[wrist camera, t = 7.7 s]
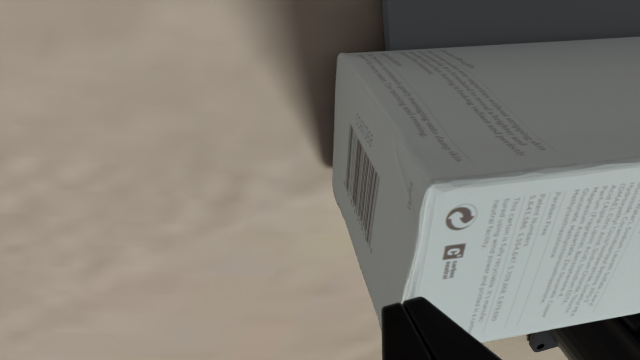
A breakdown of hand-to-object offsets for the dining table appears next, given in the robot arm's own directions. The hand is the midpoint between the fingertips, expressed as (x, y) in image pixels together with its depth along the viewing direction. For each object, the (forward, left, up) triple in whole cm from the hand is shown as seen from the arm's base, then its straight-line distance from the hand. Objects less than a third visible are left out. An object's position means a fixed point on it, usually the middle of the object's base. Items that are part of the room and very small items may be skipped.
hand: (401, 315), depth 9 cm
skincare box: (0, 0, -6) cm, 6 cm away
